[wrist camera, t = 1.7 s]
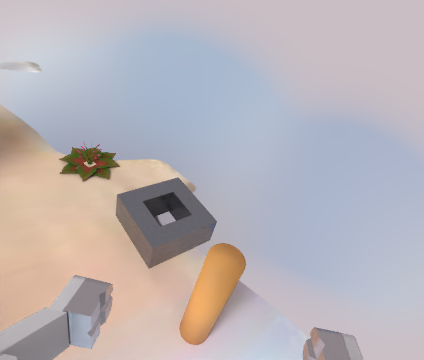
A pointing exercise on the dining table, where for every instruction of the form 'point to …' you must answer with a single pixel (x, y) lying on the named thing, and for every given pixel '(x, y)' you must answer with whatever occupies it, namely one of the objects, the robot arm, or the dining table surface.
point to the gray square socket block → (168, 234)
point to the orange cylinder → (211, 291)
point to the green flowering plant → (87, 155)
